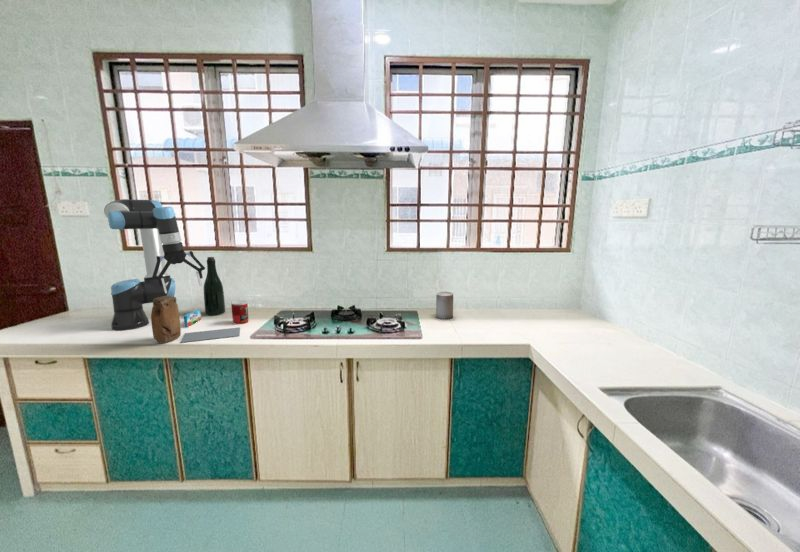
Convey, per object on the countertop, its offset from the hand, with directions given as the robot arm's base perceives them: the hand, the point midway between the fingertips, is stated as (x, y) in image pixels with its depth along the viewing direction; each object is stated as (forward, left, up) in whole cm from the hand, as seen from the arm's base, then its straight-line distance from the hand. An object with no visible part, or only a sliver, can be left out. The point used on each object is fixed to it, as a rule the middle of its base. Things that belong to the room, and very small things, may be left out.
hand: (183, 289), depth 156 cm
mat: (-1, +9, -23) cm, 25 cm away
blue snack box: (-24, -2, -24) cm, 34 cm away
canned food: (-18, +21, -24) cm, 37 cm away
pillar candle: (+13, +128, -24) cm, 131 cm away
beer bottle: (-41, +7, -24) cm, 48 cm away
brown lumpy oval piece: (-1, -9, -24) cm, 25 cm away
